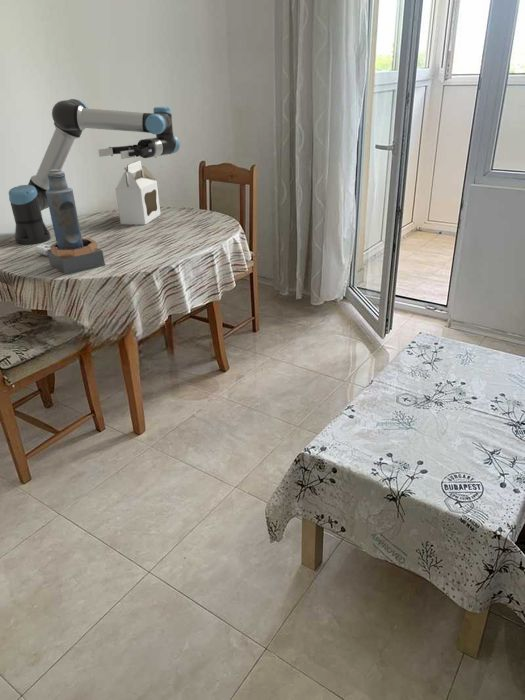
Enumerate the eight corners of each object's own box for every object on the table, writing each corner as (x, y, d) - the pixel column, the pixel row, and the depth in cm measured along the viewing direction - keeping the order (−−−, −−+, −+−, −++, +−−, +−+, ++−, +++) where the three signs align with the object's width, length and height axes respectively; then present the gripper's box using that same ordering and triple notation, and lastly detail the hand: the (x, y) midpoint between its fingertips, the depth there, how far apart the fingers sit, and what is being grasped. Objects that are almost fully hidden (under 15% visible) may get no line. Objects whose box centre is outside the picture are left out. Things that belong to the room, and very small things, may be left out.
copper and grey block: (50, 264, 210) (45, 243, 206) (88, 256, 218) (85, 236, 214) (65, 274, 198) (60, 252, 194) (105, 265, 207) (101, 244, 203)
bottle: (64, 255, 200) (47, 173, 186) (54, 249, 207) (37, 170, 193) (87, 249, 206) (73, 169, 192) (77, 244, 212) (62, 166, 198)
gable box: (137, 214, 284) (130, 159, 271) (160, 214, 281) (154, 159, 268) (120, 224, 264) (111, 166, 251) (145, 225, 262) (137, 166, 249)
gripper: (171, 159, 222) (132, 166, 207) (131, 155, 236) (92, 161, 221) (169, 140, 219) (129, 145, 204) (128, 137, 232) (89, 142, 217)
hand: (110, 154), depth 212 cm, fingers open, 13 cm apart
